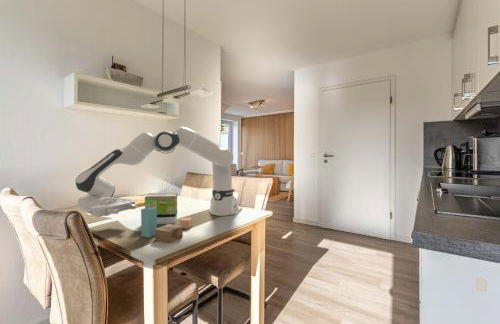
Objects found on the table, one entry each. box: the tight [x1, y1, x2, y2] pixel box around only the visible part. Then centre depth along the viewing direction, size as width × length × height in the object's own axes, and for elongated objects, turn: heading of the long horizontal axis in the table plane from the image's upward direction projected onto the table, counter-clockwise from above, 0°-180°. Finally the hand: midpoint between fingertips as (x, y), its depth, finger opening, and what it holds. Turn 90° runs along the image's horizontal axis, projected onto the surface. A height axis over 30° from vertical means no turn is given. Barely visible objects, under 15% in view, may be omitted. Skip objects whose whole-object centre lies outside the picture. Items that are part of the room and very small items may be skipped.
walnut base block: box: [154, 224, 184, 244], centre depth 105 cm, size 8×8×5 cm
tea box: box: [144, 192, 178, 225], centre depth 129 cm, size 15×10×15 cm, turn 101°
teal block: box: [140, 207, 158, 238], centre depth 109 cm, size 4×4×12 cm
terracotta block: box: [179, 217, 193, 229], centre depth 121 cm, size 4×4×4 cm
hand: (126, 209), depth 113 cm, fingers open, 8 cm apart
